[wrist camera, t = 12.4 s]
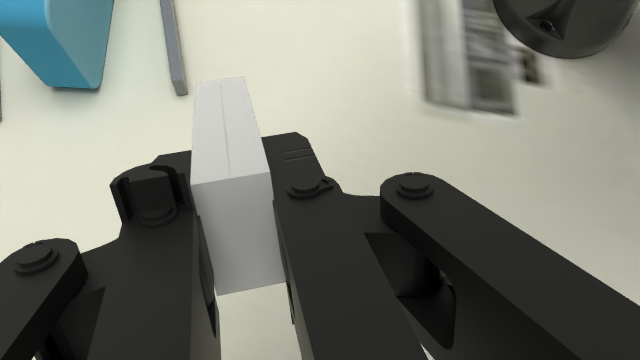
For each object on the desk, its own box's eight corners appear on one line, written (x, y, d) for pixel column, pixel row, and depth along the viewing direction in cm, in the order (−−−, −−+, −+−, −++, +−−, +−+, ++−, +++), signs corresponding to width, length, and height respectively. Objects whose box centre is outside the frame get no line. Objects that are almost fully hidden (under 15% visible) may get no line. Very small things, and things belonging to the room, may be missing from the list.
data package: (70, -13, 50) (11, -115, 38) (116, -10, 50) (70, -110, 39) (51, 92, 46) (-21, 14, 35) (100, 94, 47) (45, 18, 35)
